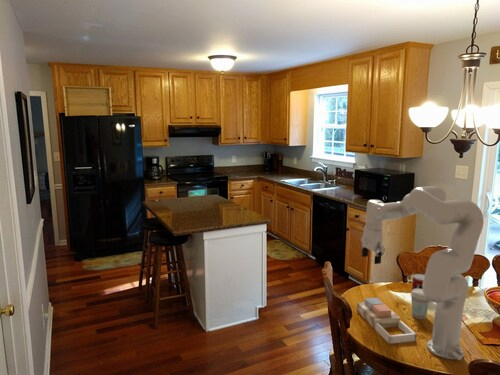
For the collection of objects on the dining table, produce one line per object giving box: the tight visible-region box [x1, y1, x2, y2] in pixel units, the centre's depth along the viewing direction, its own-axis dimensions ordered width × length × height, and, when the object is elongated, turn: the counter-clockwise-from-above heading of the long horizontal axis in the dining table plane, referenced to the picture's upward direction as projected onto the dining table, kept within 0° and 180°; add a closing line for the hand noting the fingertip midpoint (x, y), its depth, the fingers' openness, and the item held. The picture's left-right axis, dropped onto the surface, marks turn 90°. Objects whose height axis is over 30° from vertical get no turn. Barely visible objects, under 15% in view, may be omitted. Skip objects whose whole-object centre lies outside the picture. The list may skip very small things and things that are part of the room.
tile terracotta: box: [372, 303, 392, 317], centre depth 169 cm, size 6×6×2 cm
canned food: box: [411, 273, 425, 291], centre depth 194 cm, size 8×8×11 cm
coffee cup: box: [410, 289, 431, 320], centre depth 174 cm, size 8×8×12 cm
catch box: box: [374, 319, 417, 344], centre depth 159 cm, size 11×12×3 cm
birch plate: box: [356, 301, 401, 330], centre depth 173 cm, size 16×12×4 cm
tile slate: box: [364, 297, 384, 310], centre depth 176 cm, size 6×6×2 cm
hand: (371, 259), depth 183 cm, fingers open, 9 cm apart
